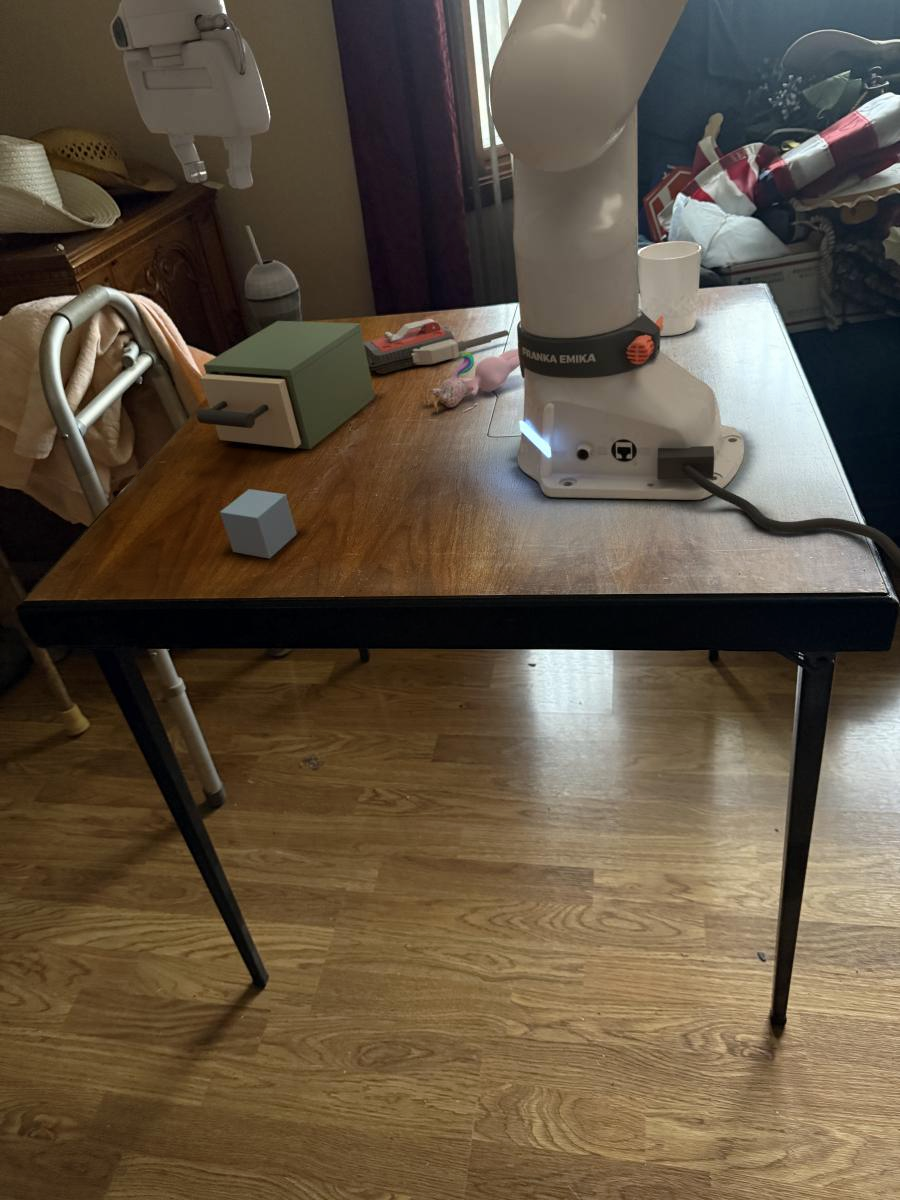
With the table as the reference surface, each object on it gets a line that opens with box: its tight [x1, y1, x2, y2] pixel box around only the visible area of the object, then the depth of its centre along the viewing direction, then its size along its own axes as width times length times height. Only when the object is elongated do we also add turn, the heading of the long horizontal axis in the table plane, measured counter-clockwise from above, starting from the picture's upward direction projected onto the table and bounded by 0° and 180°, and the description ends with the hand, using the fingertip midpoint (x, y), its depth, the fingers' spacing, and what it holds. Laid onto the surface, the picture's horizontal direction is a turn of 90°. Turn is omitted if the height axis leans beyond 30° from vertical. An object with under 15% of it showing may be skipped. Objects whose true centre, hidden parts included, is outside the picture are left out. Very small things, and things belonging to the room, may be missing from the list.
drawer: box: [196, 372, 301, 449], centre depth 103 cm, size 18×11×8 cm, turn 153°
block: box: [219, 488, 298, 559], centre depth 83 cm, size 4×4×4 cm
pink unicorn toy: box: [423, 348, 520, 413], centre depth 106 cm, size 6×6×15 cm
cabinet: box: [203, 321, 376, 450], centre depth 106 cm, size 15×13×10 cm
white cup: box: [638, 240, 703, 337], centre depth 114 cm, size 8×8×10 cm
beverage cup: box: [244, 225, 303, 332], centre depth 116 cm, size 7×7×20 cm
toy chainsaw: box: [364, 318, 510, 375], centre depth 120 cm, size 9×4×20 cm
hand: (219, 184), depth 87 cm, fingers open, 8 cm apart
